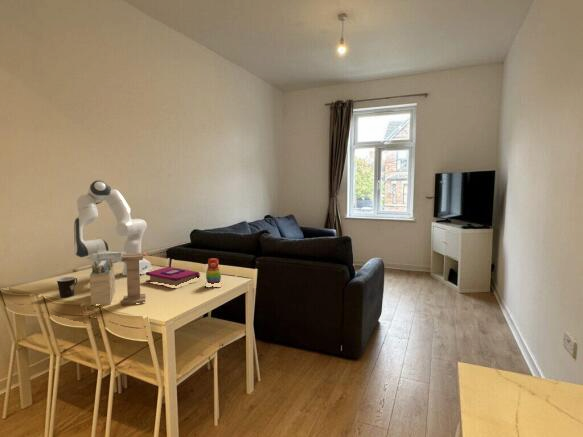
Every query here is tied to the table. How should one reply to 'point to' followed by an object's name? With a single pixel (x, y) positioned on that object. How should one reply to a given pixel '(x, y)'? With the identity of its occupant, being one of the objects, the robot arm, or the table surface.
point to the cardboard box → (102, 285)
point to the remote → (103, 265)
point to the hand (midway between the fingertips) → (112, 254)
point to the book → (172, 275)
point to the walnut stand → (133, 279)
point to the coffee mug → (66, 286)
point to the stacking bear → (213, 271)
